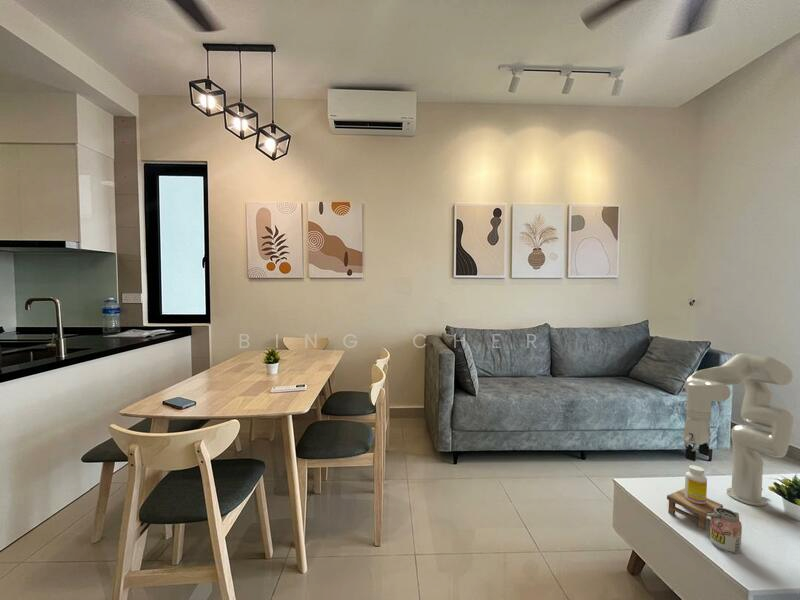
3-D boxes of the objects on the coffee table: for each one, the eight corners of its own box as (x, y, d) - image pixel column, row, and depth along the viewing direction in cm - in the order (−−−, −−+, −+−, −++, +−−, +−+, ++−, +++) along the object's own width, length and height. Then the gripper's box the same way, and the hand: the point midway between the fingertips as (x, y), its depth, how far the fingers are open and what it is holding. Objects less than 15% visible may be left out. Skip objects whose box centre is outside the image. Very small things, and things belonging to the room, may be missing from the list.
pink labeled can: (700, 536, 133) (701, 504, 132) (721, 535, 134) (722, 503, 133) (725, 555, 124) (727, 520, 123) (747, 553, 124) (749, 519, 124)
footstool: (684, 504, 153) (684, 488, 153) (722, 522, 141) (723, 505, 141) (666, 512, 147) (666, 495, 147) (704, 531, 135) (705, 513, 135)
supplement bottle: (710, 506, 140) (711, 473, 140) (690, 503, 141) (692, 471, 141) (699, 496, 147) (701, 465, 146) (680, 494, 148) (682, 463, 148)
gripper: (698, 408, 150) (697, 449, 151) (675, 414, 143) (674, 457, 143) (721, 414, 144) (720, 456, 144) (697, 421, 136) (696, 466, 137)
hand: (697, 457), depth 144 cm, fingers open, 9 cm apart
